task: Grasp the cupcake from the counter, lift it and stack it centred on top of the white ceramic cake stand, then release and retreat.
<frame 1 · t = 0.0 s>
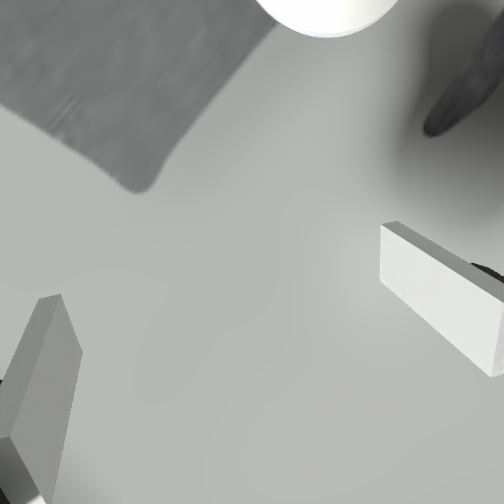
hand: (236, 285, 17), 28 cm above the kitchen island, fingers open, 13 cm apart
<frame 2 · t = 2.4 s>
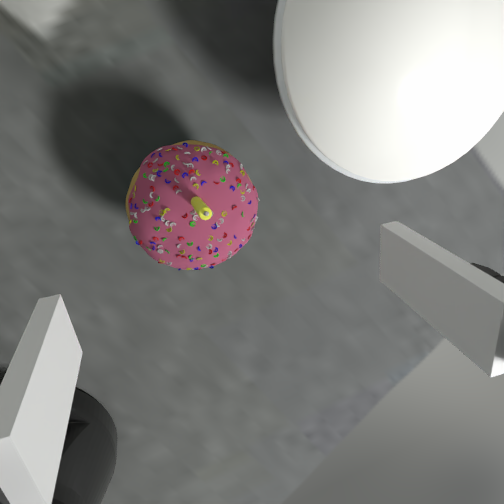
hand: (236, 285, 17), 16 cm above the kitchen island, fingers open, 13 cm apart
cake stand: (357, 49, 29), on the kitchen island
cupcake: (186, 190, 31), on the kitchen island
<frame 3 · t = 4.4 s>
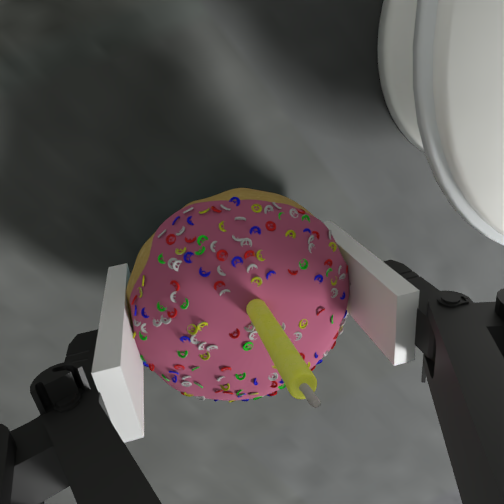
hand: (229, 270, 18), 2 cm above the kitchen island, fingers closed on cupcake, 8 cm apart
cake stand: (498, 31, 18), on the kitchen island
cupcake: (221, 252, 20), on the kitchen island, touching gripper
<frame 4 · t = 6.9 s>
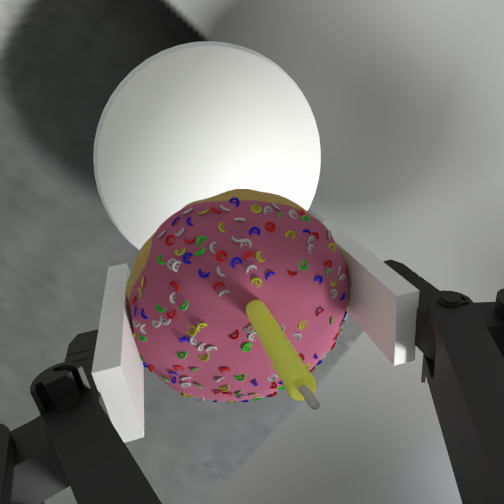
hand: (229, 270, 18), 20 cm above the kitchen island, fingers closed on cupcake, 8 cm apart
cake stand: (201, 153, 35), on the kitchen island
cupcake: (221, 253, 20), point 18 cm above the kitchen island, touching gripper
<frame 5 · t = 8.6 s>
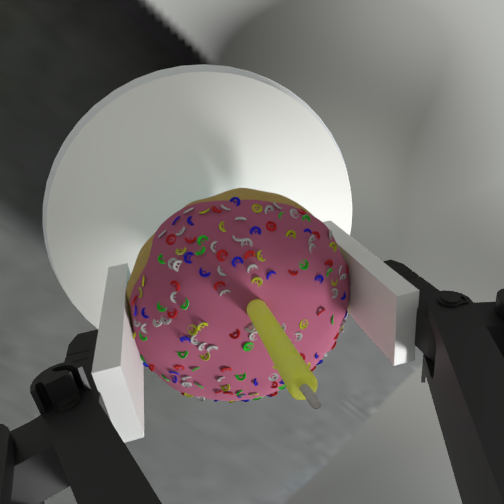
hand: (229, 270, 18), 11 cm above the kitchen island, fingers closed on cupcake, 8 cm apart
cake stand: (196, 199, 28), on the kitchen island
cupcake: (222, 252, 20), point 9 cm above the kitchen island, touching gripper
when the fingers open (10 cm above the kitchen island, at t = 9.6 s): cupcake drops 1 cm, resting on cake stand.
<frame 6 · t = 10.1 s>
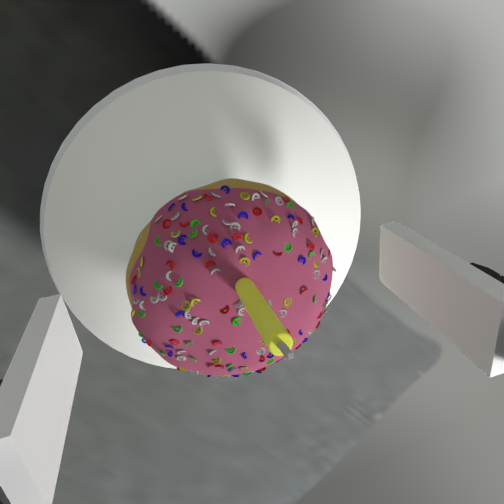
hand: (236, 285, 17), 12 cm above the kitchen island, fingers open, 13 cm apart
cake stand: (198, 202, 27), on the kitchen island
cupcake: (215, 241, 21), point 7 cm above the kitchen island, touching cake stand
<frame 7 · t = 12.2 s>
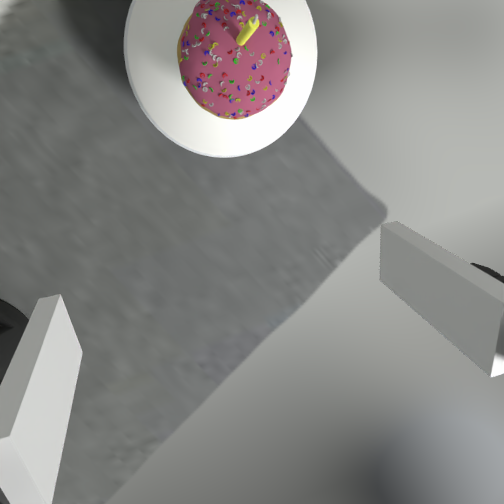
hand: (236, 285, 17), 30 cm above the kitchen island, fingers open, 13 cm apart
cake stand: (215, 60, 40), on the kitchen island
cupcake: (225, 59, 34), point 7 cm above the kitchen island, touching cake stand
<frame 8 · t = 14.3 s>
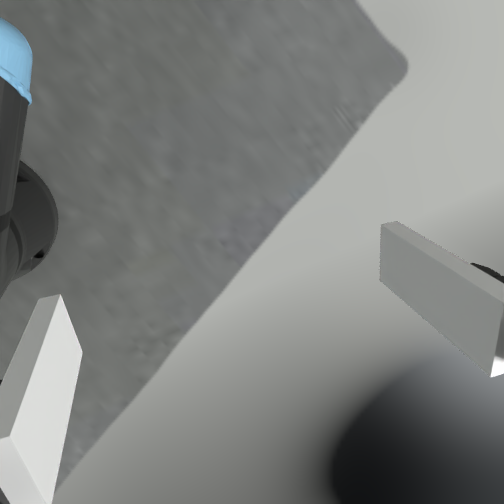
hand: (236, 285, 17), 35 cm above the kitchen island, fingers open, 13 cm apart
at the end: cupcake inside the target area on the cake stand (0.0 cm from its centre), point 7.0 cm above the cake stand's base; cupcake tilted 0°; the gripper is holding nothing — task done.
